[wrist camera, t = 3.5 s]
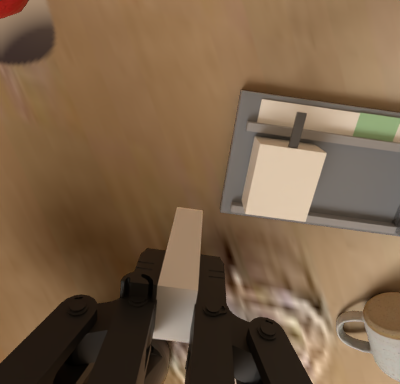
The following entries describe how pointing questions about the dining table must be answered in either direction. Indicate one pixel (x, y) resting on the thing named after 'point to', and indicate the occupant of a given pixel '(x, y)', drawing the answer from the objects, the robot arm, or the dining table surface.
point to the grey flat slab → (397, 221)
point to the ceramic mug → (377, 331)
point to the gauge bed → (334, 162)
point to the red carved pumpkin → (11, 7)
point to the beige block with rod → (282, 175)
